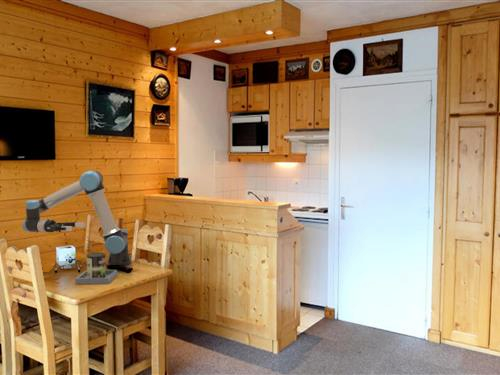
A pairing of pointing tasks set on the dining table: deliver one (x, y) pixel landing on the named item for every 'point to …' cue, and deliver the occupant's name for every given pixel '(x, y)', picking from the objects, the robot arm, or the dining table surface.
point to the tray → (84, 280)
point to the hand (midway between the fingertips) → (78, 226)
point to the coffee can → (96, 265)
